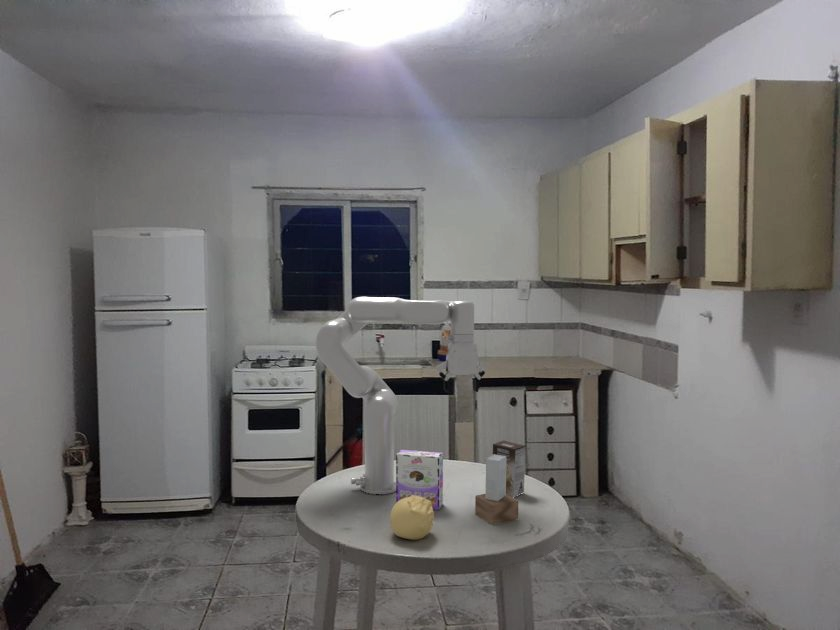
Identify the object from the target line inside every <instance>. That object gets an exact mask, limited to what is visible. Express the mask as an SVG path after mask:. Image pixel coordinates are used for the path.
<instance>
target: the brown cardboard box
mask: <svg viewBox="0 0 840 630" xmlns="http://www.w3.org/2000/svg"><path fill="white" fill-rule="evenodd" d="M485 494H486V493H482V494H475V498H474V499H475V500H474V502H475V504H474V505H475V507H474V508H475V509H474V513H475V516H476V517H478V518H480V519H482V520H483V521H485V522H486V523H488V524H490V525H492V526H495V525H499V524H503V523H504V524H505V523H508V522H514V521H517V520H516V519H518V520H519V499H517V498H516V497H515V498H513V497H511V496H509V495H507V494H506V496H504V497H503V498H502V499H500V500H499V501H493V500H488V499H486V498H485ZM513 520H514V521H513Z"/></svg>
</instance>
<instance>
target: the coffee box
mask: <svg viewBox="0 0 840 630" xmlns="http://www.w3.org/2000/svg"><path fill="white" fill-rule="evenodd" d="M493 454H495V455H502V456H506V494H507V495H509V496H511V497H515V498H517V497H518V496H517V495H519V494H521V493H523V492H524V493H525V471H526V465H525V464H526V445H523V444H519V443H516V442H512V441H511V442H510V441H507V440H500V441H498V442H495V443H492V455H493ZM516 496H517V497H516Z"/></svg>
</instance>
